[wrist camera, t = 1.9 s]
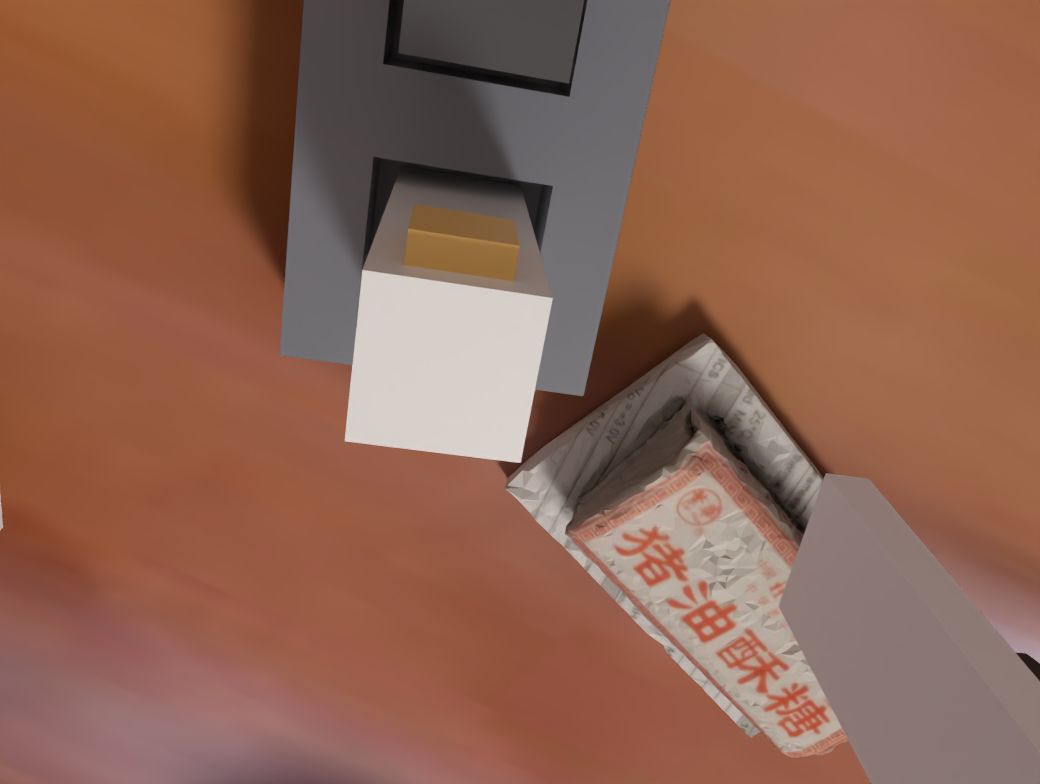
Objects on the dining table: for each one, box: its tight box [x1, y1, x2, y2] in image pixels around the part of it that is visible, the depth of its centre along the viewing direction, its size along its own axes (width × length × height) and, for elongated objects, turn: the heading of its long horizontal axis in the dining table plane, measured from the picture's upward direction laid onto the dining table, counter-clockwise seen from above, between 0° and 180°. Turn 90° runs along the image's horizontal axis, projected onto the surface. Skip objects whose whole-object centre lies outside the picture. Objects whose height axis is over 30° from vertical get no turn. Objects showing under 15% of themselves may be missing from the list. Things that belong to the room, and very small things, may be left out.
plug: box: [345, 166, 553, 463], centre depth 25 cm, size 4×5×12 cm
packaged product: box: [505, 333, 848, 758], centre depth 36 cm, size 18×5×10 cm
